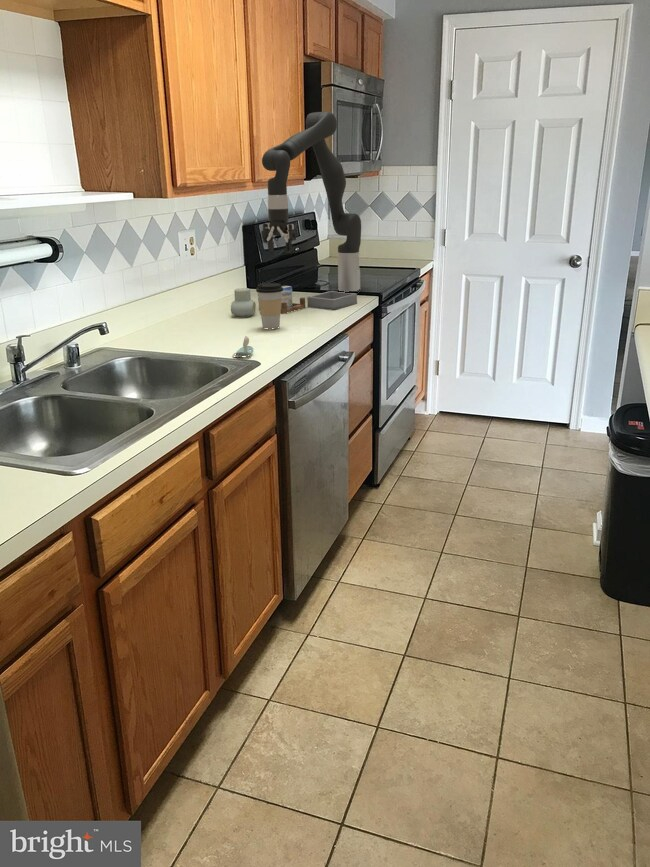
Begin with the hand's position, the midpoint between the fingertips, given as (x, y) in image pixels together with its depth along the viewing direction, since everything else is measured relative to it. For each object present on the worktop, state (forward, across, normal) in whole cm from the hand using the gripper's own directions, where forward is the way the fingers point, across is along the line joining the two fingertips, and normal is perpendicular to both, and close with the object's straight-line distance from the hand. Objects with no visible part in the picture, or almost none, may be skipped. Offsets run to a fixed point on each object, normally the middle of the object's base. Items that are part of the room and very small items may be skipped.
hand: (279, 251), depth 274 cm
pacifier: (+22, -36, +62) cm, 75 cm away
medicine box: (+22, 0, 0) cm, 22 cm away
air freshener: (+22, +5, +17) cm, 29 cm away
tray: (+22, -12, -16) cm, 30 cm away
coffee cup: (+22, -18, +28) cm, 40 cm away
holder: (+22, 0, 0) cm, 22 cm away
